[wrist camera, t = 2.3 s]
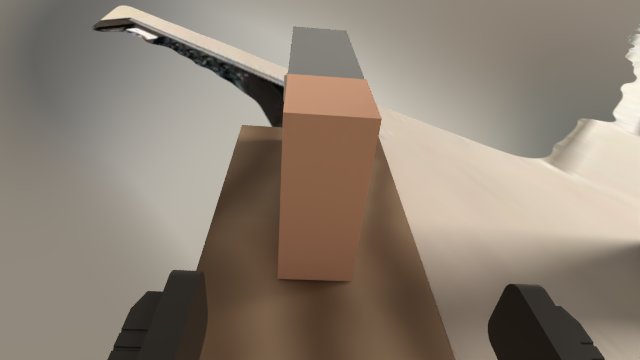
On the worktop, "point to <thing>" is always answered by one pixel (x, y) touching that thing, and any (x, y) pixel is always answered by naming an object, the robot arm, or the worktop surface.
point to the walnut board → (312, 295)
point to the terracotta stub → (324, 175)
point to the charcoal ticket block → (322, 54)
